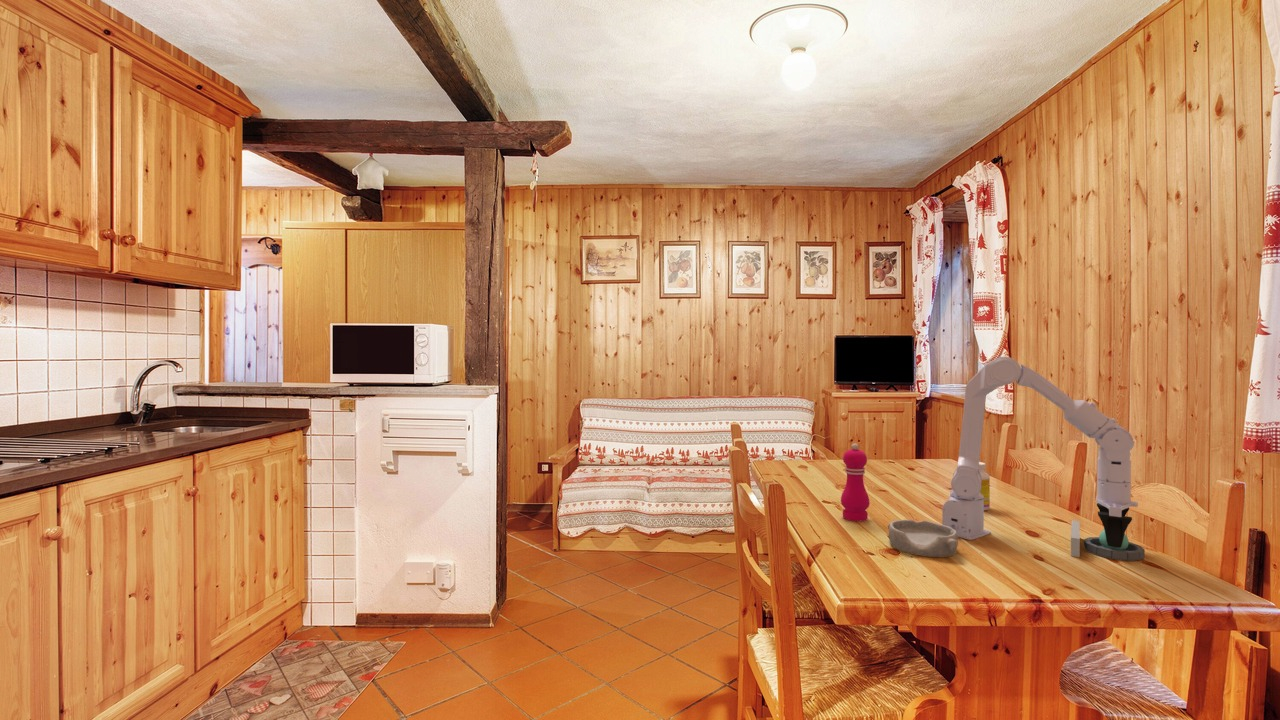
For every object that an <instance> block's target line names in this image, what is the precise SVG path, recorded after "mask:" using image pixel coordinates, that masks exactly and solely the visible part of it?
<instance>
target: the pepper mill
mask: <svg viewBox="0 0 1280 720" xmlns="http://www.w3.org/2000/svg"><path fill="white" fill-rule="evenodd" d="M842 460H843V461H842V462H843V463H844V465H845V467H844V470H845V471H844V472H845V474H846V482H845V486H844V489H843V491H842V493H841V497H840V504H841V505H842V507H843V508H844V509H843V510H842V518H843V519H844V520H847V521H851V522H864V521H867V520H868V518H869V517H868V516H869V515H868V513H869V512H867V511H866V510H868V508H869V507H870V498H869V494H868V492H867V490H866V487H865V484H864V482H865V481H864V474H866V472H865V471H866V468H865V466H866V465H867V462H868V456H867V454H866V453H865V452H864V451H863V450H861V449H859V445H858V443H852V444H851V449H848V450H846V451H845V452H844V454H843V456H842Z"/></svg>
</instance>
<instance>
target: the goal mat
mask: <svg viewBox="0 0 1280 720" xmlns="http://www.w3.org/2000/svg"><path fill="white" fill-rule="evenodd" d="M1083 547H1084V551H1086V552H1088V553H1090V554H1093V555H1095V556H1099V557H1102V558H1106V559H1110V560H1116V561H1125V562H1138V561H1139V562H1140V561H1142V560H1144V557H1146V555H1145V548H1144V547H1142V546H1141V545H1139V544H1137V543H1134V542H1131V541H1129V544H1128V547H1127V548H1126V549H1125V550H1124V551H1121V550H1112V549H1108V548H1104V547H1103V546H1102V545H1101V543H1100V540H1099V536H1096V537H1095V536H1093V537H1092V536H1091V537H1090V536H1088V537H1086V538H1084V539H1083Z"/></svg>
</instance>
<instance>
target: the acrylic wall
mask: <svg viewBox="0 0 1280 720" xmlns="http://www.w3.org/2000/svg"><path fill="white" fill-rule="evenodd" d="M1080 528H1081V527H1080V520H1075V519H1072V520H1071V527H1070V556H1071V557H1075V558H1080V555H1081V554H1080V551H1081V550H1080V547H1081V546H1080V543H1081V542H1080V540H1081V539H1080V536H1081V534H1080Z"/></svg>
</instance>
